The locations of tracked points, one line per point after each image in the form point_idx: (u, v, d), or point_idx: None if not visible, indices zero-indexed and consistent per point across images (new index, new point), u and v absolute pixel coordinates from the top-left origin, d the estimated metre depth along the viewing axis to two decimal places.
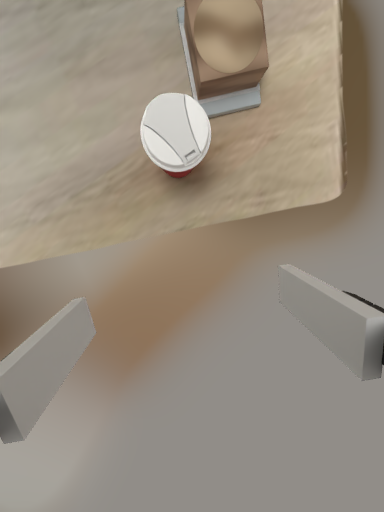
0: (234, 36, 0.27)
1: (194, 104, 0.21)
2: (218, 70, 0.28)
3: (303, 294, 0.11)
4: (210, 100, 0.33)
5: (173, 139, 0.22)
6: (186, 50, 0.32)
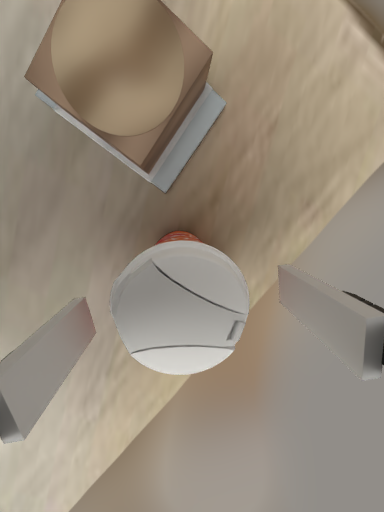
0: (132, 62, 0.15)
1: (181, 263, 0.10)
2: (149, 128, 0.16)
3: (303, 294, 0.11)
4: (163, 160, 0.21)
5: (190, 333, 0.11)
6: (87, 132, 0.20)
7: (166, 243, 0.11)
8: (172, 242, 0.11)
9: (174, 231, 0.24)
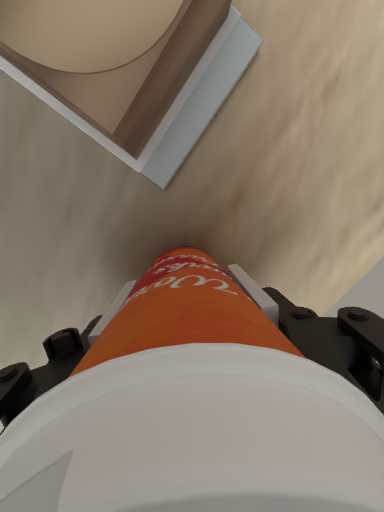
0: None
1: None
2: (129, 59, 0.08)
3: None
4: (159, 137, 0.13)
5: None
6: (36, 89, 0.12)
7: (144, 359, 0.03)
8: (167, 355, 0.03)
9: None
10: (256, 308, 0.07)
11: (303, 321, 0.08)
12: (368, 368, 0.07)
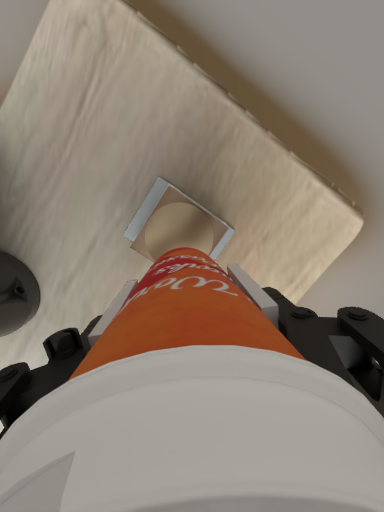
0: (186, 237, 0.28)
1: None
2: None
3: None
4: None
5: None
6: None
7: (145, 362, 0.03)
8: (168, 358, 0.03)
9: (177, 248, 0.16)
10: (256, 309, 0.07)
11: (303, 321, 0.08)
12: (368, 368, 0.07)
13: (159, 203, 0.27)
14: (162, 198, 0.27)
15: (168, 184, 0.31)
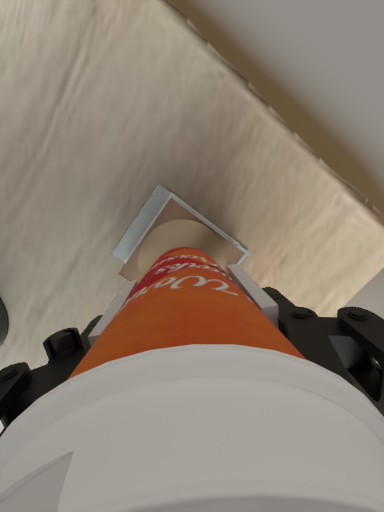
0: None
1: None
2: None
3: None
4: None
5: None
6: None
7: (144, 361, 0.03)
8: (167, 357, 0.03)
9: None
10: (256, 309, 0.07)
11: (303, 321, 0.08)
12: (368, 368, 0.07)
13: (158, 220, 0.21)
14: (161, 213, 0.21)
15: (170, 193, 0.25)
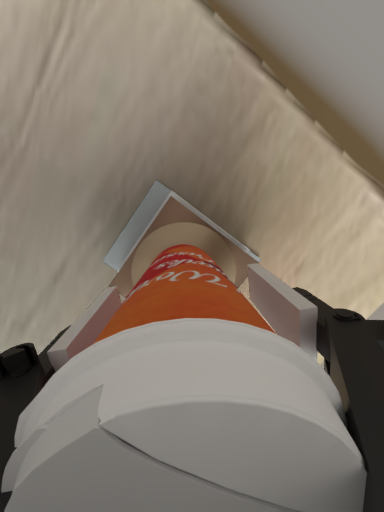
0: None
1: (192, 422, 0.03)
2: None
3: (263, 290, 0.12)
4: None
5: None
6: None
7: (149, 329, 0.04)
8: (166, 326, 0.04)
9: (176, 245, 0.17)
10: (242, 298, 0.08)
11: (348, 324, 0.07)
12: None
13: (155, 223, 0.17)
14: (159, 215, 0.17)
15: (170, 192, 0.21)
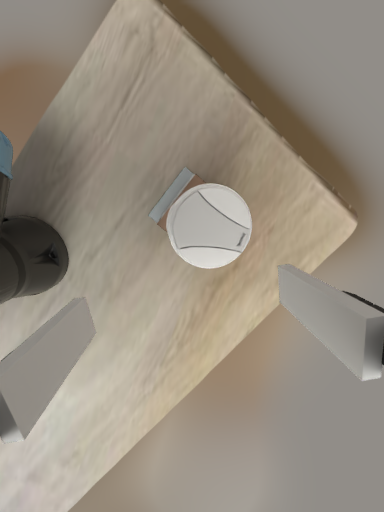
0: None
1: (214, 192, 0.17)
2: None
3: (303, 294, 0.11)
4: None
5: (215, 239, 0.18)
6: None
7: (204, 184, 0.18)
8: (208, 183, 0.18)
9: None
10: None
11: None
12: None
13: (186, 188, 0.31)
14: (188, 184, 0.31)
15: (192, 174, 0.36)
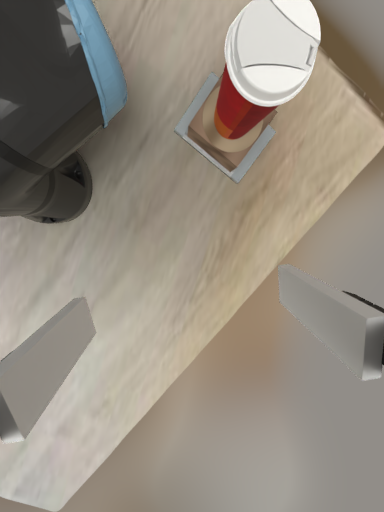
0: None
1: None
2: (244, 148, 0.32)
3: (303, 294, 0.11)
4: None
5: (281, 55, 0.17)
6: (199, 148, 0.36)
7: None
8: None
9: None
10: None
11: None
12: None
13: (218, 82, 0.30)
14: (221, 77, 0.30)
15: None
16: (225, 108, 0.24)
